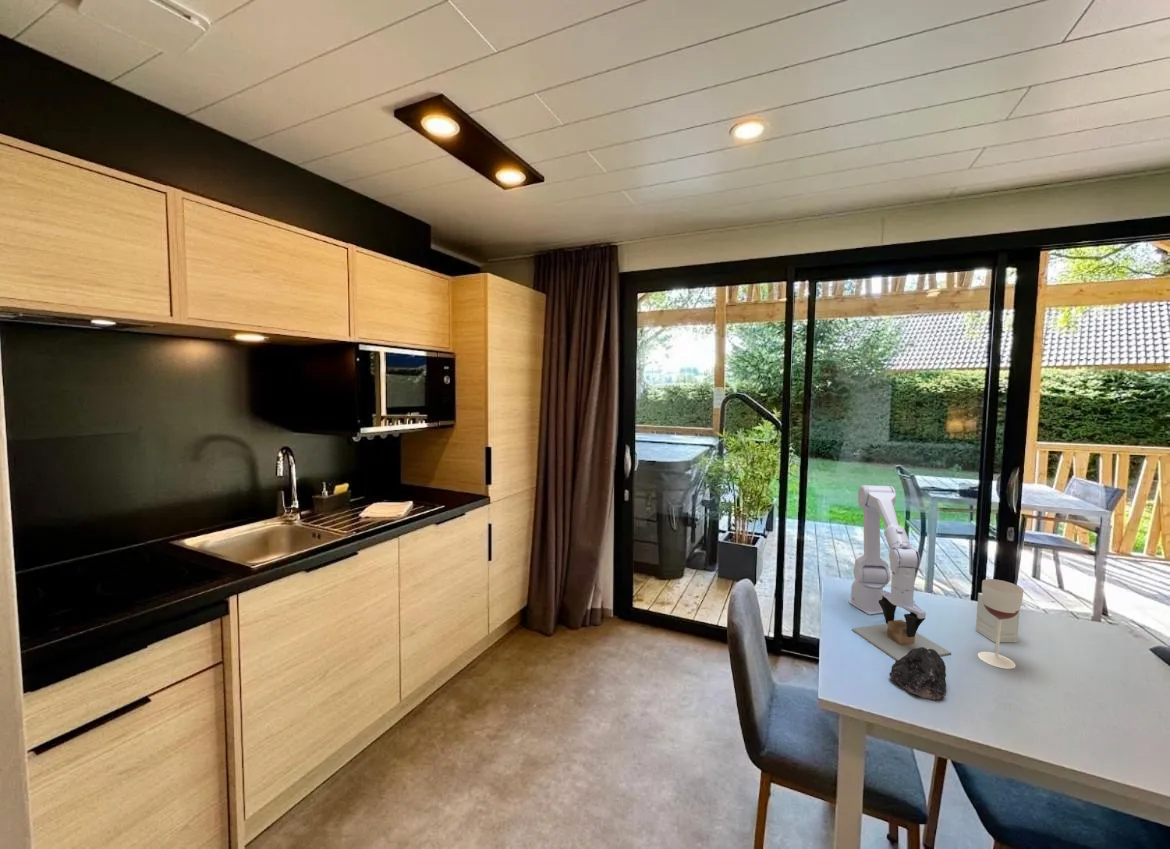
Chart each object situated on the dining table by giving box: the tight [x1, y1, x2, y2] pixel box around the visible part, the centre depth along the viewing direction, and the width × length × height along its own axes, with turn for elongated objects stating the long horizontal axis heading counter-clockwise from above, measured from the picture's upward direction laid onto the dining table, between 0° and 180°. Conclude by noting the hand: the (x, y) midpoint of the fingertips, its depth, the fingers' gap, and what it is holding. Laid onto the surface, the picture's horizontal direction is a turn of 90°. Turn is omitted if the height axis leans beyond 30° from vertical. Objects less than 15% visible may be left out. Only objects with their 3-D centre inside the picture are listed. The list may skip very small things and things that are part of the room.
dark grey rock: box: [889, 647, 947, 701], centre depth 126 cm, size 13×14×10 cm
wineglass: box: [977, 578, 1024, 670], centre depth 136 cm, size 9×10×22 cm
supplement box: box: [975, 592, 1021, 643], centre depth 149 cm, size 7×7×13 cm
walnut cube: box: [887, 619, 915, 645], centre depth 147 cm, size 5×5×5 cm
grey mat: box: [851, 623, 952, 661], centre depth 147 cm, size 18×18×1 cm
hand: (899, 629), depth 147 cm, fingers open, 7 cm apart
